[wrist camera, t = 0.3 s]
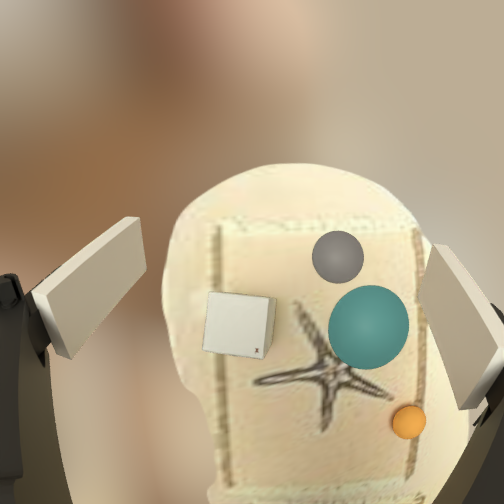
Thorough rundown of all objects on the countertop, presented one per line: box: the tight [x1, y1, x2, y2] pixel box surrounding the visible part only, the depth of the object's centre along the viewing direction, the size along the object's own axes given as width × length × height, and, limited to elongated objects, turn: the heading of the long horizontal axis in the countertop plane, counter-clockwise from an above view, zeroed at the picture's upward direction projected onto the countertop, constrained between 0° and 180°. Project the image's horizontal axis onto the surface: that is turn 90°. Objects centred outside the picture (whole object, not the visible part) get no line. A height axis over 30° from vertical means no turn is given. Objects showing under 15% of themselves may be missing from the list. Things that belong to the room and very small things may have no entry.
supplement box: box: [202, 292, 276, 359], centre depth 42 cm, size 7×7×13 cm
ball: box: [393, 406, 426, 439], centre depth 40 cm, size 6×6×6 cm
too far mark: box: [312, 231, 364, 283], centre depth 47 cm, size 8×8×1 cm
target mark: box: [328, 286, 409, 369], centre depth 45 cm, size 13×13×1 cm
